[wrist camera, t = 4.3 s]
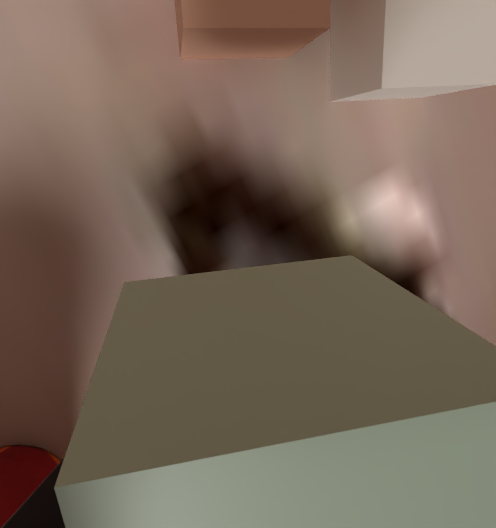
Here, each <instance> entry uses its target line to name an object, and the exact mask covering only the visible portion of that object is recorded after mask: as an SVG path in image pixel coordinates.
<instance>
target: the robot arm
mask: <svg viewBox="0 0 496 528" xmlns="http://www.w3.org/2000/svg"><path fill="white" fill-rule="evenodd" d="M63 460H64V459H63ZM63 460H62V461H61V462H60V463H59V464H58V465H57V466H56V467H55V468H54V470H53V471H52V472H51V473H50V474H49V475H48V476H47V477H46V478H45V480H44V481H43V482H42V483H41V484H40V485H39V486H38V487H37V488H36V490H35V491H34V492H33V493H32V494H31V495H30V496H29V497H28V498H27V500H26V501H25V502H24V503H23V504H22V505H21V506H20V507H19V508H18V510H17V511H16V512H15V513H14V514H13V515H12V516H11V517H10V518H9V520H8V521H7V522H6V523H5V524H4V525H3V526H2V527H1V528H65V524H64V521H63V517H62V514H61V510H60V507H59V503H58V500H57V496H56V493H55V489H54V487H55V484H56V481H57V478H58V475H59V472H60V469H61V466H62V463H63Z"/></svg>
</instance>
